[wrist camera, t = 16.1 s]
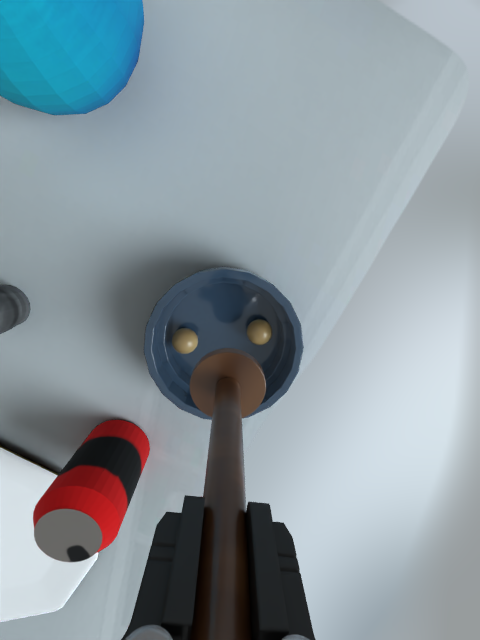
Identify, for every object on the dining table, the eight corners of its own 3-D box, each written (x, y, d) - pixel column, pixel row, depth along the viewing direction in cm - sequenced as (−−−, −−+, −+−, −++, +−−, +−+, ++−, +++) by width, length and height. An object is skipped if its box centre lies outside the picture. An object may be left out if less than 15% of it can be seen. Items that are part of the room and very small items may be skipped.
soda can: (103, 477, 37) (46, 580, 26) (78, 427, 36) (5, 513, 24) (159, 461, 37) (127, 557, 25) (137, 410, 35) (92, 488, 24)
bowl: (303, 278, 32) (317, 283, 27) (278, 403, 36) (286, 428, 31) (163, 256, 31) (151, 257, 26) (151, 388, 35) (138, 411, 30)
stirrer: (275, 360, 19) (395, 710, 5) (250, 422, 21) (289, 838, 6) (203, 338, 19) (111, 660, 5) (182, 402, 20) (58, 812, 6)
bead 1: (202, 327, 32) (200, 340, 30) (194, 347, 34) (192, 361, 31) (177, 320, 32) (174, 332, 29) (170, 340, 33) (166, 354, 31)
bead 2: (277, 328, 33) (276, 345, 31) (255, 336, 34) (253, 353, 32) (265, 310, 31) (263, 327, 29) (243, 319, 33) (240, 335, 30)
